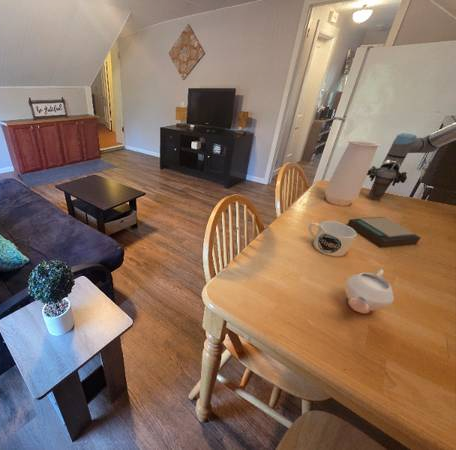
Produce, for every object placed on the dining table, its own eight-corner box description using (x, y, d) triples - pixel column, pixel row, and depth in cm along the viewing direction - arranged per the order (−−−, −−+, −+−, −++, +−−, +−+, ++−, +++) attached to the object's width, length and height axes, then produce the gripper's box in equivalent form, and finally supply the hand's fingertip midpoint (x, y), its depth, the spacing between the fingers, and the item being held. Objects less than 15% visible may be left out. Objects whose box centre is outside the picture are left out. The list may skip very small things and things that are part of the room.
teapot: (391, 298, 67) (409, 273, 62) (367, 340, 57) (387, 314, 52) (351, 279, 74) (365, 255, 69) (323, 313, 63) (337, 288, 58)
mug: (346, 245, 88) (356, 226, 83) (346, 261, 80) (357, 241, 76) (305, 233, 94) (312, 215, 90) (301, 247, 87) (308, 228, 82)
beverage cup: (366, 194, 125) (386, 155, 114) (384, 199, 120) (406, 159, 110) (362, 198, 121) (382, 158, 110) (380, 203, 116) (403, 162, 106)
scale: (416, 244, 89) (422, 235, 87) (380, 247, 87) (385, 239, 85) (378, 222, 101) (383, 215, 99) (346, 225, 99) (350, 217, 97)
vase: (349, 210, 110) (380, 147, 96) (318, 200, 118) (342, 141, 103) (356, 201, 118) (386, 142, 103) (326, 193, 126) (350, 137, 111)
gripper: (411, 180, 122) (407, 194, 108) (362, 170, 134) (353, 182, 120) (419, 166, 118) (417, 178, 104) (368, 157, 130) (360, 167, 116)
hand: (383, 180), depth 112 cm, fingers closed on beverage cup, 7 cm apart
